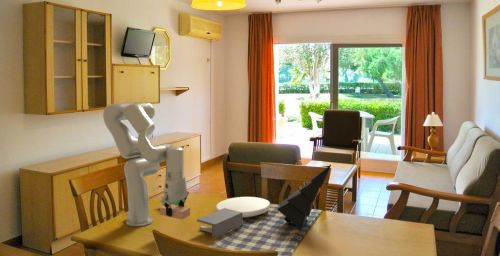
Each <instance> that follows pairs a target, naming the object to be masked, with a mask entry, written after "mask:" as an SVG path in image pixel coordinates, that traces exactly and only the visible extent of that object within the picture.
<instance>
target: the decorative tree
mask: <svg viewBox="0 0 500 256" xmlns="http://www.w3.org/2000/svg"><path fill="white" fill-rule="evenodd" d="M331 167H332V164H329V165H327V167H325V168H324V169H323V170H322V171H320V172H319V173H317V174H316V175H314V176H312V177H311V180H310V181H309V182H308V183H306V184H305V185H303V186H302V187H301V189H299V190H295V191H293V192H292V193H290V195H289V196H288V197H287V198H286V199H283V200H282V201H281V202H280V203H279V206H278V208H277V209H276V210H277V211H278V212H279V213H281V214H282V215H283V216H284V218H283V219H284V221H285V223H287V224H291V223H292V224H294V225H295V226H296V227H297V228H299V229H301V228H303V229H304V226H305V225H306V222H305V221H307V219H308V218H309V217H310V215H311V212H312V210H313V203H314V202H315V200H316V198H317V195H318V193H319V191H320V189H321V188H322V187H323V185H324V183H325V180H327V179H326V178H327V176H328V173H329V171H330V170H331V169H330V168H331ZM304 224H305V225H304Z"/></svg>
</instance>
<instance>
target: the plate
mask: <svg viewBox="0 0 500 256" xmlns="http://www.w3.org/2000/svg"><path fill="white" fill-rule="evenodd" d="M224 208H226V209H230V210H234V211H239V212H242V218H250V217H256V216H259V215H263V214H264V213H266V212H267V211H269V209H270V208H271V202H270V201H269V200H267V199H266V198H262V197H256V196H240V197H239V196H237V197H231V198H227V199H224V200H222V201H220V202H218V203H217V204H216V205H215V212H216V211H219V210H221V209H224Z"/></svg>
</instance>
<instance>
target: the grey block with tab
mask: <svg viewBox="0 0 500 256" xmlns="http://www.w3.org/2000/svg"><path fill="white" fill-rule="evenodd" d="M196 222H197V223H201V224H205V225H208V226H211V227H208V226H204V225H200V226H199V230H201V231H204V232H207V233H209V234H211V238H213V239H215V240H216V239H218V238H220V237H221V236H222V237H223V236H224V235H226V234H228V233H230V232H232V231H234V230H233V229H235V228H237V227H239V226H241V225H243V217H242V212H239V211H234V210H230V209H226V208H224V209H221V210H219V211H216V210H215V211H214V212H211V213H209V214H206V215H205V216H202V217H199V218H197V219H196ZM241 227H242V226H241ZM239 228H240V227H239ZM237 229H238V228H237ZM231 230H232V231H231ZM235 230H236V229H235ZM229 231H230V232H229Z"/></svg>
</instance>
